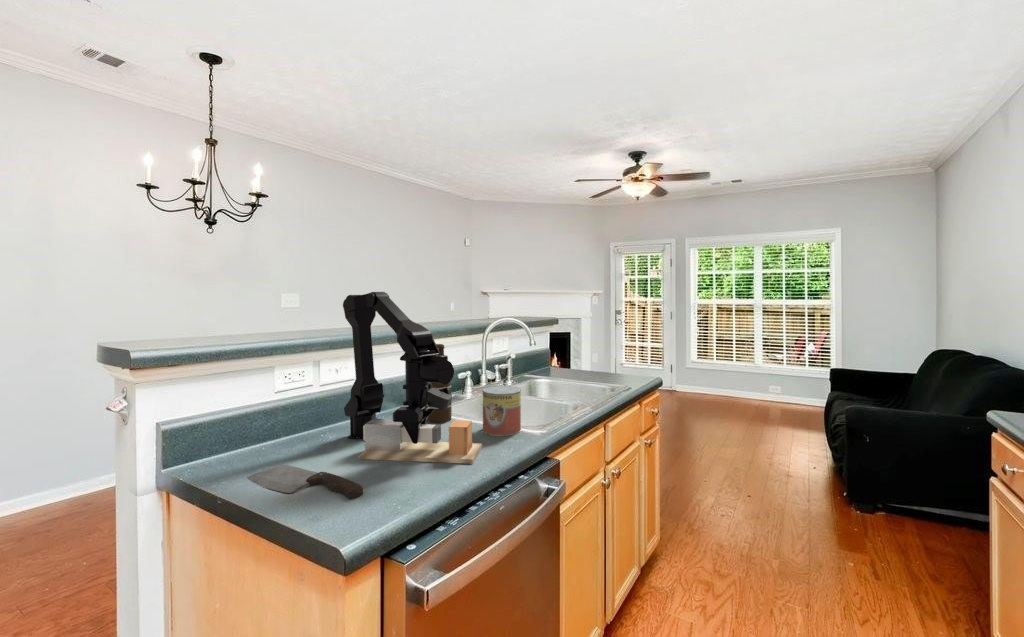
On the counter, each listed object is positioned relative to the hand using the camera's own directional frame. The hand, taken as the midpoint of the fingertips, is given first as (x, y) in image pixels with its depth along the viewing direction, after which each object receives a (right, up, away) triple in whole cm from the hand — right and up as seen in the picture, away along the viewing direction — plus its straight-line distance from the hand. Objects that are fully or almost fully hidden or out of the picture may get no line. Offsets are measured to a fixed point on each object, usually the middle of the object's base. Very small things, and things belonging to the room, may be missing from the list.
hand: (417, 440), depth 121 cm
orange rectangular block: (+11, -2, -1) cm, 11 cm away
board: (+1, -3, 0) cm, 3 cm away
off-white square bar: (-4, 0, 0) cm, 4 cm away
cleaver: (-20, -5, -20) cm, 28 cm away
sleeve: (-8, -3, +1) cm, 9 cm away
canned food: (+21, -2, +20) cm, 29 cm away
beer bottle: (+1, -2, +31) cm, 31 cm away
